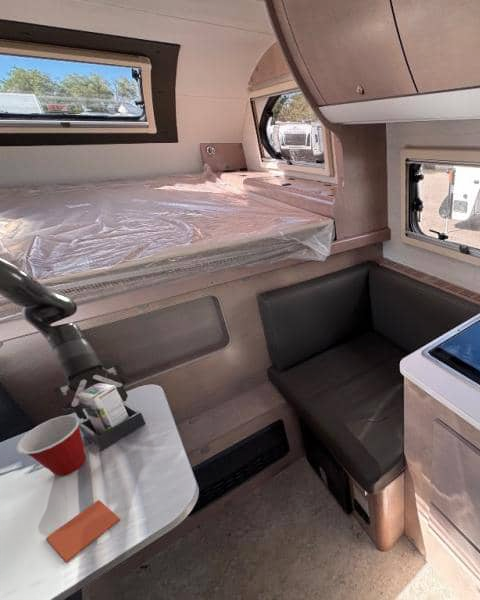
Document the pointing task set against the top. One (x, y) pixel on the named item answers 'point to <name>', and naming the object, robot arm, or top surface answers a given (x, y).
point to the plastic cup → (56, 445)
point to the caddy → (113, 429)
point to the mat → (82, 530)
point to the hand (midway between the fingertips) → (106, 409)
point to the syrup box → (103, 406)
